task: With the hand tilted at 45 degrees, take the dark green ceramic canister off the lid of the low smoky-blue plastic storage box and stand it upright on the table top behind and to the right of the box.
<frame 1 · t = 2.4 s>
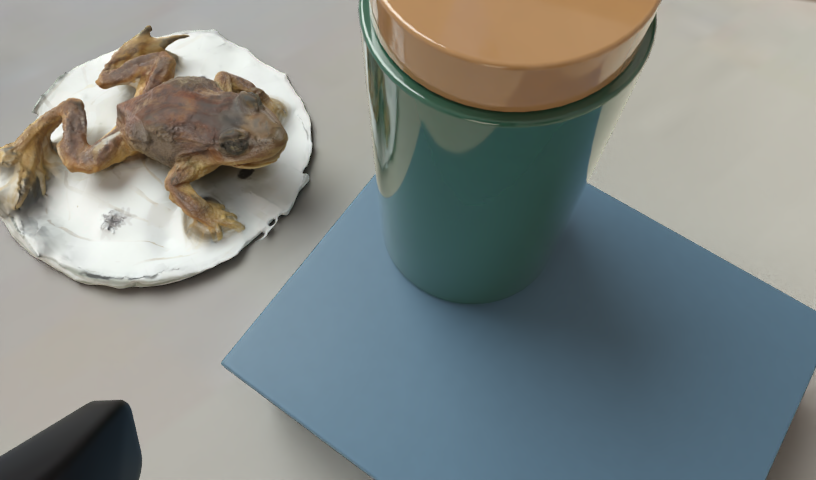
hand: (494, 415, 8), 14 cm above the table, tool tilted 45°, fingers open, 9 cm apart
frog figurine: (172, 152, 26), on the table
storage box: (512, 372, 22), on the table
canister: (469, 221, 20), point 4 cm above the table, touching storage box
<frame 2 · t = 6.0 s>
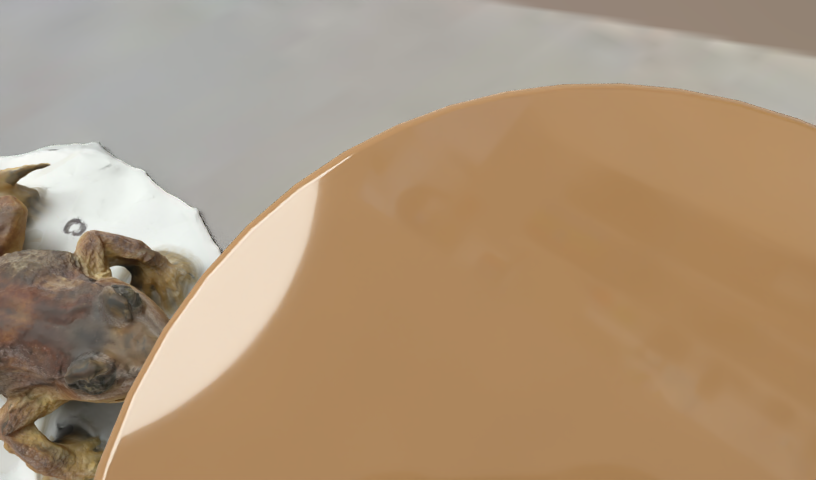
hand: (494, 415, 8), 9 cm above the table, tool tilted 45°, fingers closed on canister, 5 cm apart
frog figurine: (30, 338, 18), on the table
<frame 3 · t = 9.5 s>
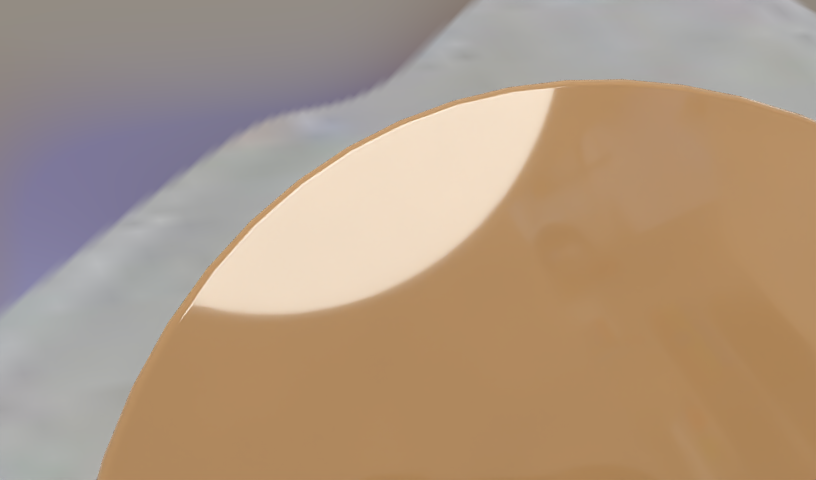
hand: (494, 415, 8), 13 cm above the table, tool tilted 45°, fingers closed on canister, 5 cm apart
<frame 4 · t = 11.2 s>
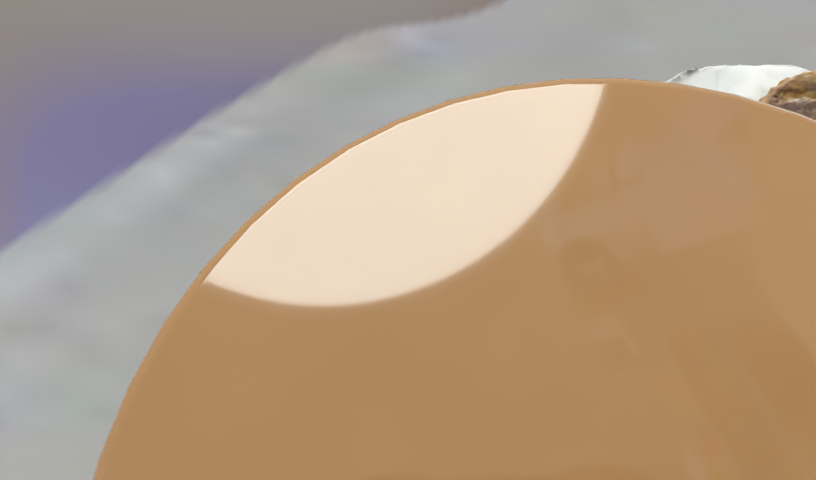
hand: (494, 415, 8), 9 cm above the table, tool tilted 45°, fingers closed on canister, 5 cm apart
frog figurine: (786, 230, 20), on the table
when the fingers open (5 cm above the table, at t = 12.9 s): canister stays where it is, on the table.
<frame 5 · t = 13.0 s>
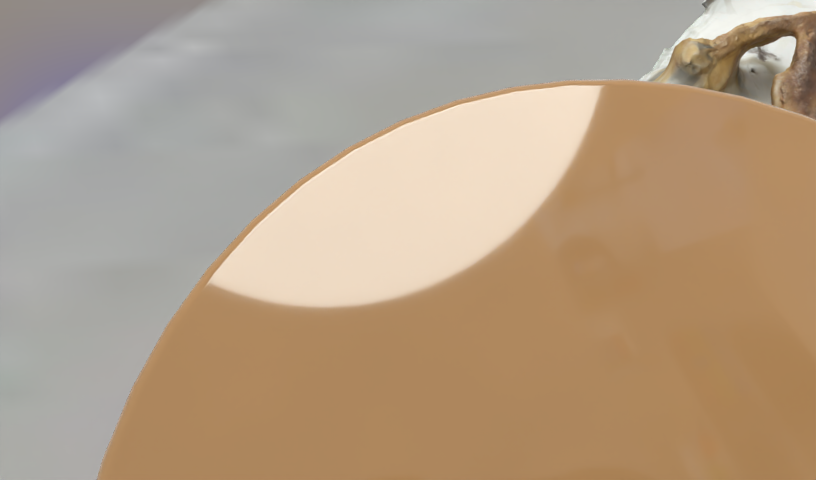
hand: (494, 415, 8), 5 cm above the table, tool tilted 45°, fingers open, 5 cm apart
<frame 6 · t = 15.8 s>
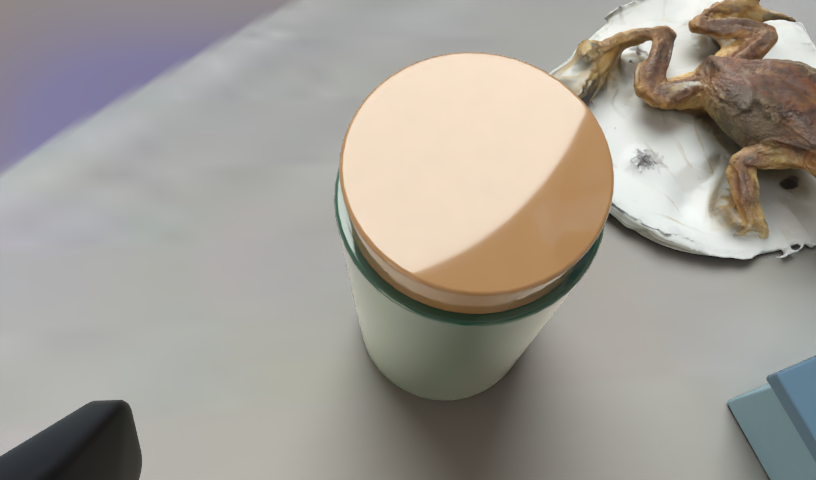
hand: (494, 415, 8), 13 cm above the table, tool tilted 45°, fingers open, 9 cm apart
frog figurine: (712, 123, 25), on the table
canister: (442, 316, 22), on the table
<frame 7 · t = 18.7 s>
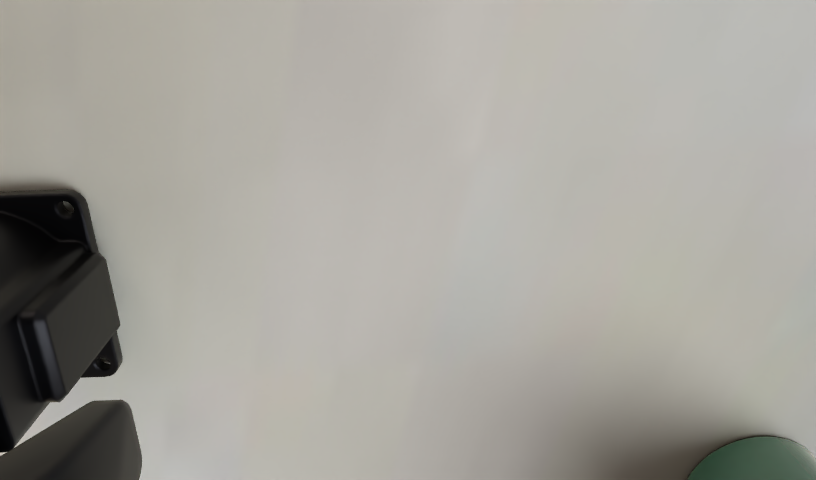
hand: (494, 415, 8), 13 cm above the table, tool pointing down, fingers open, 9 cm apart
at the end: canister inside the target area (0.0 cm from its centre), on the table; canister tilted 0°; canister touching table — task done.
